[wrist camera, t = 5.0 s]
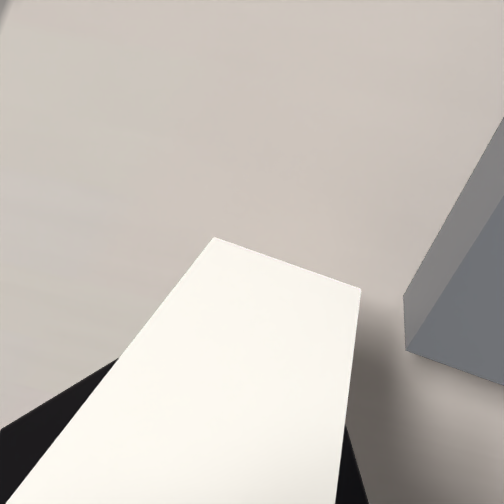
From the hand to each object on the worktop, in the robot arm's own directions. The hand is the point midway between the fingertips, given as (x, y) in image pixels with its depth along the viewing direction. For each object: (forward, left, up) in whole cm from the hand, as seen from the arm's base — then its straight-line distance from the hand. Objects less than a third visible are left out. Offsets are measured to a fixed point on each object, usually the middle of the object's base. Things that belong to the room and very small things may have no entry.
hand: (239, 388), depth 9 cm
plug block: (0, 0, -3) cm, 3 cm away
